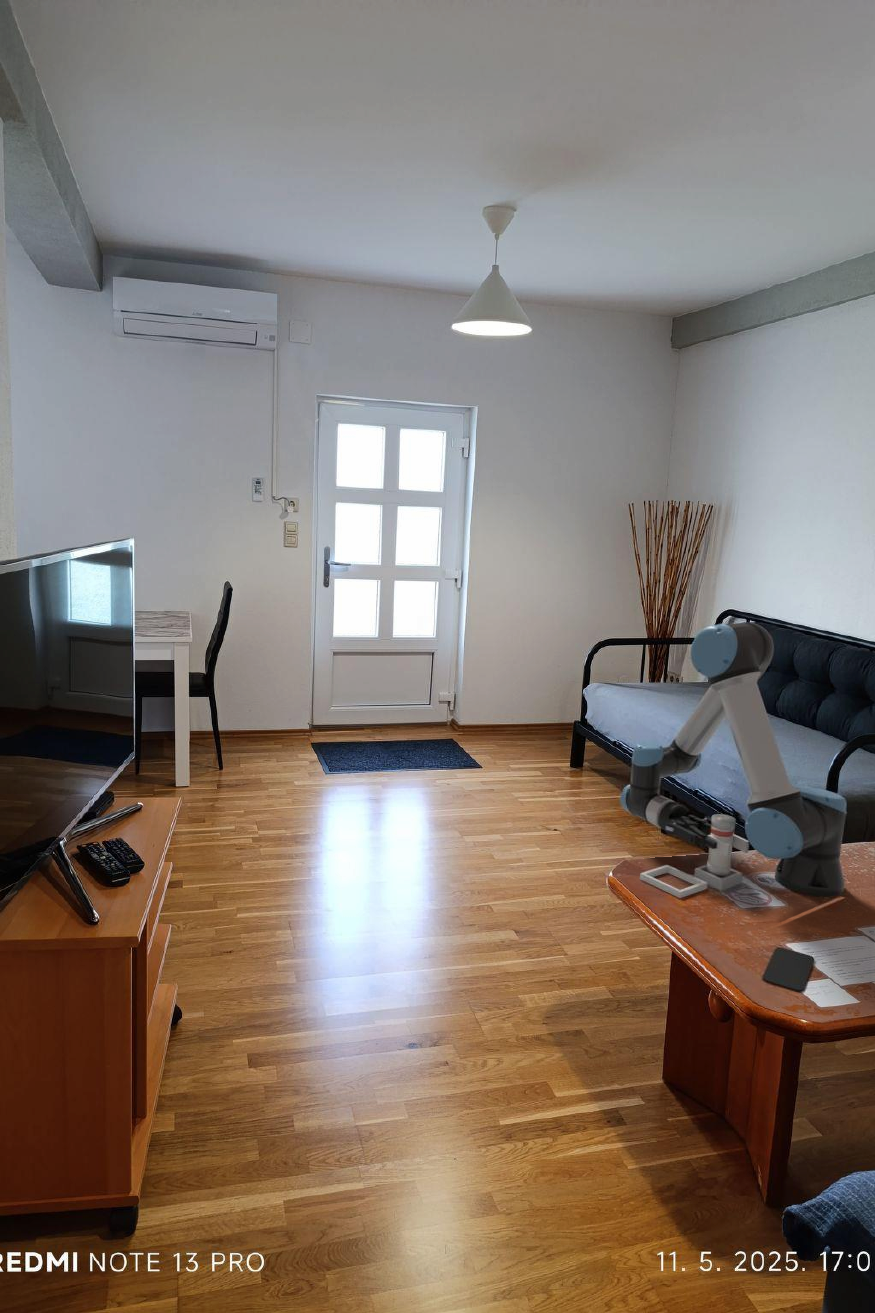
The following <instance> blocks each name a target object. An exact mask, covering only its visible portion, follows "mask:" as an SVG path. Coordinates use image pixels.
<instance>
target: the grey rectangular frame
mask: <svg viewBox="0 0 875 1313" xmlns="http://www.w3.org/2000/svg"><path fill="white" fill-rule="evenodd" d="M663 874H670V875H671V876H674V877H675V878H676V877H677V878H678V879H680V880H683V881H684V882H688V884H691V886H688V887H685V888H682V889H678V888H677V887H675V886H673V885H670V884H668V883H666V882H663V881H661V880H660V879H657V878H655V877H657V876H661V875H663ZM691 875H692V874H689V873H688V872H687V873H686V872H684V871H682V870H680V869H678V868H675V867H673V866H671V865H669V864H665V865H661V866H659V867H656V868H653V869H650V870H647V871H643V872H640V873H639V880H640V881H643V882H645V883H647V884H649V885H651V886H653V887H654V888H655V887H656V888H657V889H660V890H662V891H664V892H666V893H668V894H670V895H672V896H674V897H676V898H679V899H682V898H684V897H687V896H690V895H693V894H696V893H699V892H701V891H702V892H703V891H704V890H708V886H707V884H708V883H707V882H705V881H703V880H700V879H698V878H696V877H693V876H691Z"/></svg>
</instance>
